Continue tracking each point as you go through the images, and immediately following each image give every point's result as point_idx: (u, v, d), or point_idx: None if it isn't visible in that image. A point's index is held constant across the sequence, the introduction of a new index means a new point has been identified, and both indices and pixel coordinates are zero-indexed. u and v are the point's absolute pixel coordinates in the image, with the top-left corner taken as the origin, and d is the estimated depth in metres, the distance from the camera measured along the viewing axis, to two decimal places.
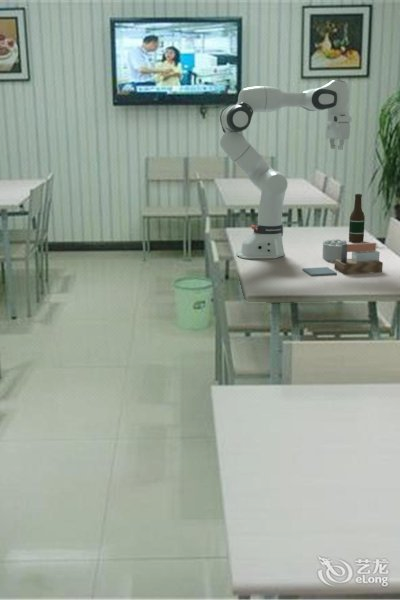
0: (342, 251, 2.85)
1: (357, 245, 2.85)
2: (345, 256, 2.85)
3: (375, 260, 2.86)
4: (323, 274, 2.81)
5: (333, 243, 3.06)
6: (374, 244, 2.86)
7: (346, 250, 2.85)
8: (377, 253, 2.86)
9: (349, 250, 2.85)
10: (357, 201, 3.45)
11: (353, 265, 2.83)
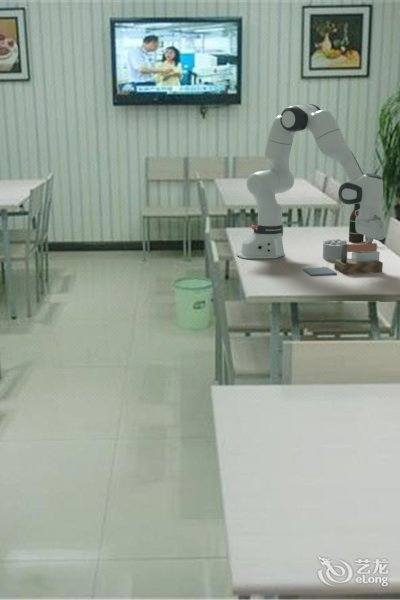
0: (342, 251, 2.85)
1: (357, 245, 2.85)
2: (345, 256, 2.85)
3: (375, 260, 2.86)
4: (323, 274, 2.81)
5: (333, 243, 3.06)
6: (375, 244, 2.85)
7: (346, 250, 2.85)
8: (377, 253, 2.86)
9: (349, 250, 2.85)
10: None
11: (353, 265, 2.83)
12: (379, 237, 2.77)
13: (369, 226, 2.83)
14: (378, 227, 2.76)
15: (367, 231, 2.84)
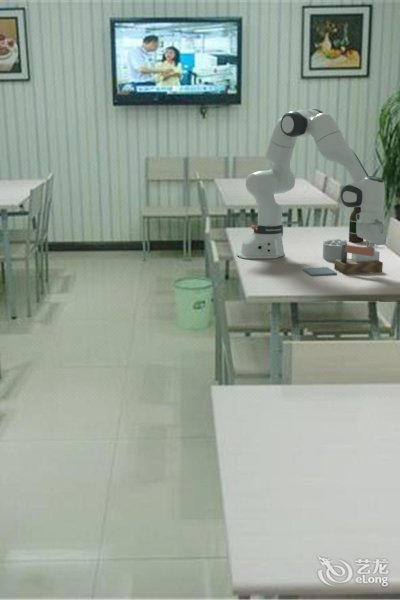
0: None
1: (354, 247, 2.81)
2: (342, 256, 2.85)
3: (375, 260, 2.86)
4: (323, 274, 2.81)
5: (333, 243, 3.06)
6: (371, 249, 2.76)
7: (344, 250, 2.84)
8: (377, 253, 2.86)
9: (347, 251, 2.84)
10: None
11: (353, 265, 2.83)
12: (380, 242, 2.68)
13: (370, 230, 2.74)
14: (379, 232, 2.68)
15: (368, 236, 2.75)
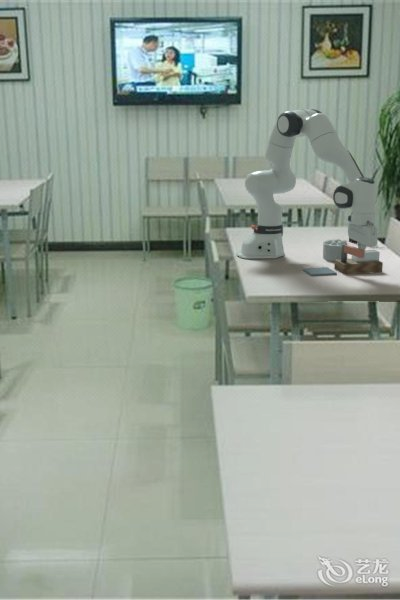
0: None
1: (349, 248, 2.80)
2: (341, 256, 2.86)
3: (375, 260, 2.86)
4: (323, 274, 2.81)
5: (334, 243, 3.06)
6: (360, 251, 2.73)
7: (342, 250, 2.85)
8: (377, 253, 2.86)
9: (345, 251, 2.83)
10: None
11: (353, 265, 2.83)
12: (372, 244, 2.65)
13: (362, 232, 2.71)
14: (371, 233, 2.65)
15: (360, 237, 2.72)
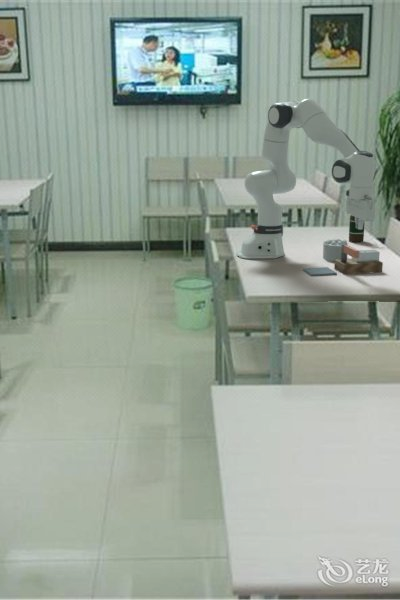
0: None
1: (347, 248, 2.80)
2: (341, 256, 2.86)
3: (375, 260, 2.86)
4: (323, 274, 2.81)
5: (334, 243, 3.06)
6: (354, 251, 2.73)
7: (342, 250, 2.85)
8: (377, 253, 2.86)
9: (344, 251, 2.83)
10: None
11: (353, 265, 2.83)
12: (369, 218, 2.61)
13: (359, 207, 2.67)
14: (368, 207, 2.61)
15: (358, 212, 2.68)
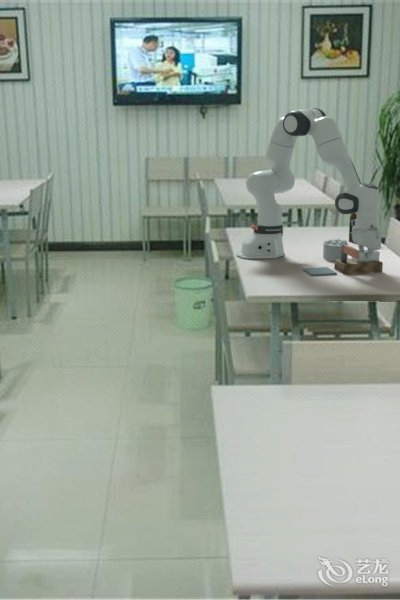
0: None
1: (347, 248, 2.80)
2: (341, 256, 2.86)
3: (375, 260, 2.86)
4: (323, 274, 2.81)
5: (334, 243, 3.06)
6: (354, 251, 2.73)
7: (342, 250, 2.85)
8: (377, 253, 2.86)
9: (344, 251, 2.83)
10: None
11: (353, 265, 2.83)
12: (376, 247, 2.77)
13: (366, 236, 2.83)
14: (375, 237, 2.76)
15: (364, 241, 2.84)
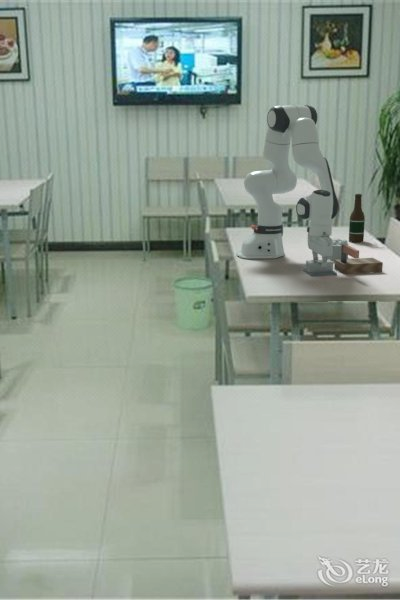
0: None
1: (347, 248, 2.80)
2: (341, 256, 2.86)
3: (329, 270, 2.84)
4: (323, 274, 2.81)
5: (334, 243, 3.06)
6: (354, 251, 2.73)
7: (342, 250, 2.85)
8: (331, 263, 2.83)
9: (344, 251, 2.83)
10: (357, 201, 3.45)
11: (353, 265, 2.83)
12: (327, 254, 2.74)
13: (319, 243, 2.80)
14: (326, 244, 2.73)
15: (317, 248, 2.81)
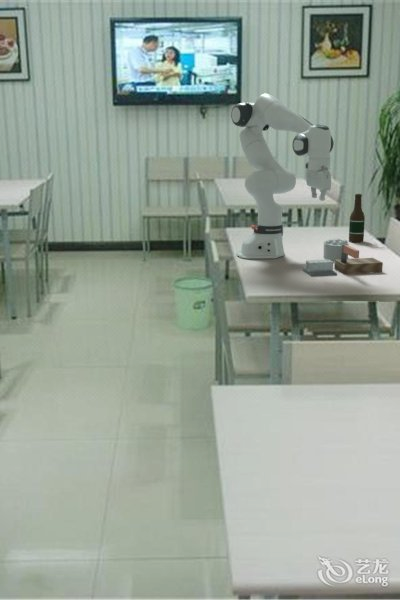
0: None
1: (347, 248, 2.80)
2: (341, 256, 2.86)
3: (329, 270, 2.84)
4: (323, 274, 2.81)
5: (334, 243, 3.06)
6: (354, 251, 2.73)
7: (342, 250, 2.85)
8: (331, 263, 2.83)
9: (344, 251, 2.83)
10: (357, 201, 3.45)
11: (353, 265, 2.83)
12: (326, 187, 2.77)
13: (317, 177, 2.83)
14: (324, 177, 2.76)
15: (316, 183, 2.84)
